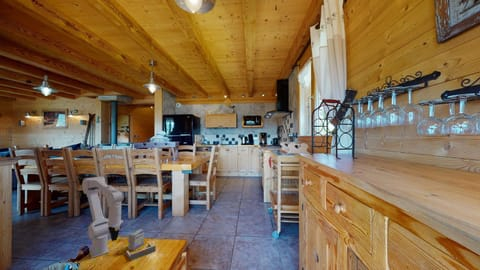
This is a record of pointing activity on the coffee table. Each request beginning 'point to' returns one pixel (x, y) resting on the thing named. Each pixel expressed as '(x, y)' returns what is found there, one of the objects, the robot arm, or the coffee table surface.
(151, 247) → the tray
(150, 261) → the coffee table surface
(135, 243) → the medicine box
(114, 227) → the robot arm
